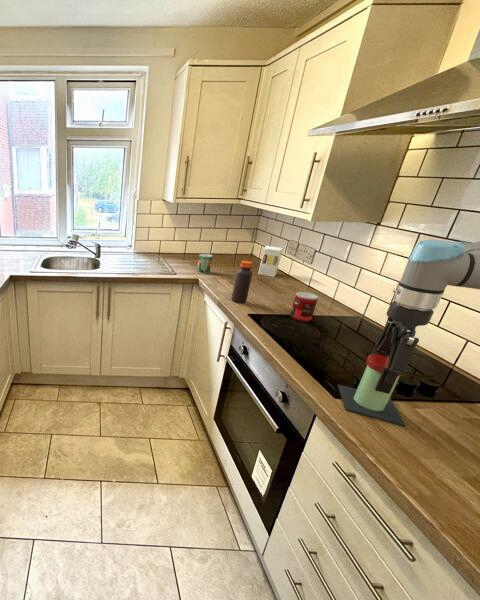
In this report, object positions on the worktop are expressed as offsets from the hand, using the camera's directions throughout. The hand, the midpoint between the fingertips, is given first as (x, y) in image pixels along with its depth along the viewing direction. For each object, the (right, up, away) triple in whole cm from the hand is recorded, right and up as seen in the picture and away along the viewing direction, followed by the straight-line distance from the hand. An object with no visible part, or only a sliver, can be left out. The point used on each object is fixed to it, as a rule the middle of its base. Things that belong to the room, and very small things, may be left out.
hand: (377, 382), depth 85 cm
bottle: (-1, +22, +72) cm, 76 cm away
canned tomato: (-1, +40, +118) cm, 124 cm away
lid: (0, +6, -2) cm, 6 cm away
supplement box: (+38, +38, +114) cm, 126 cm away
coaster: (0, -7, +3) cm, 7 cm away
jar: (0, -6, +3) cm, 7 cm away
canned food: (+17, +14, +54) cm, 59 cm away
